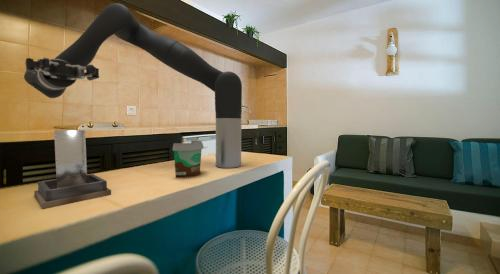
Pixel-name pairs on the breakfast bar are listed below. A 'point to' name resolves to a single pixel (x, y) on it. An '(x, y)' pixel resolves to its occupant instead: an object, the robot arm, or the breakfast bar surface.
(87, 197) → the holder
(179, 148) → the food container
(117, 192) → the breakfast bar surface
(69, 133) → the silver tall shiny block
